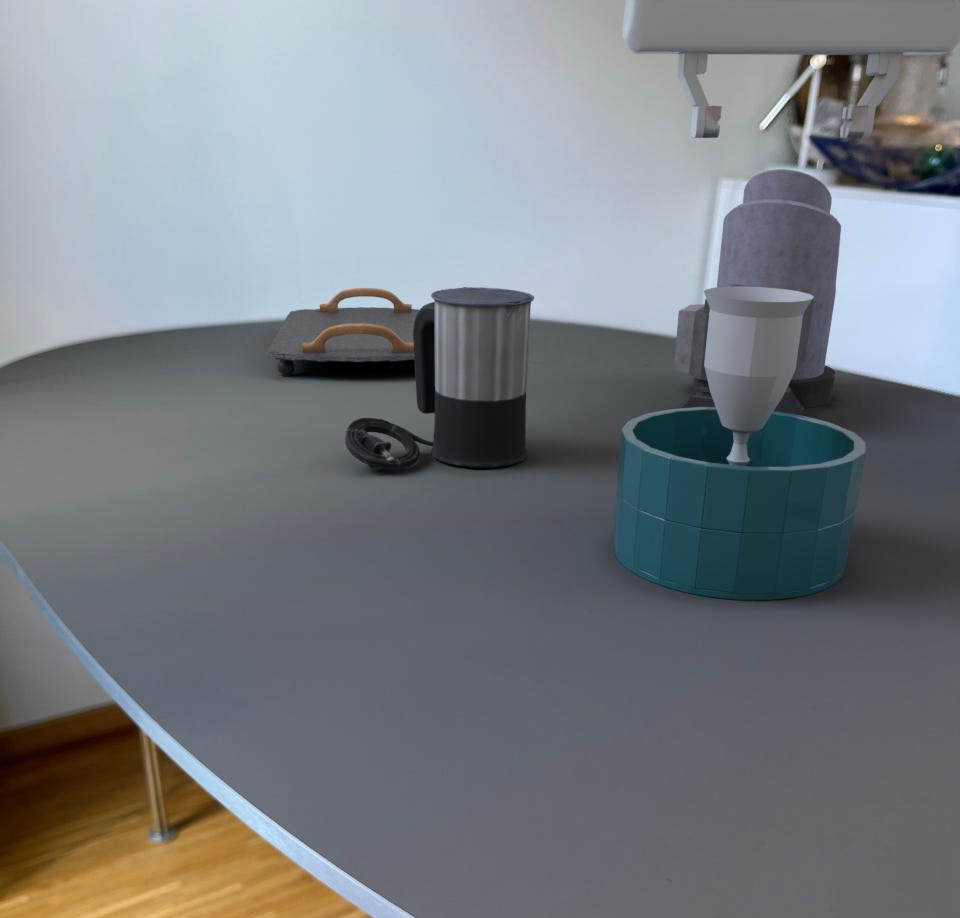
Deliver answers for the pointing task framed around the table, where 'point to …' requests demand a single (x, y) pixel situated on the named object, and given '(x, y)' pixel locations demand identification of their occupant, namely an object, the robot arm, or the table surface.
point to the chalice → (751, 355)
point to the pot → (736, 504)
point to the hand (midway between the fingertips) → (779, 138)
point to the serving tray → (346, 332)
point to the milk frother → (463, 382)
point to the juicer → (775, 278)
